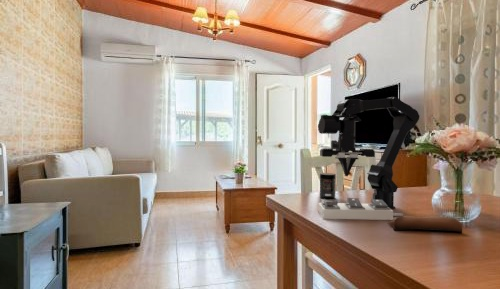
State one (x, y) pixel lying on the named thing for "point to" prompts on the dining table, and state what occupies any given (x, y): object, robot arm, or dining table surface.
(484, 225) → the dining table surface
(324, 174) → the supplement container
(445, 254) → the dining table surface
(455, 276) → the dining table surface
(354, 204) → the rocker middle
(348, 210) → the power strip
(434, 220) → the sunglasses case
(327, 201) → the rocker
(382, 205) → the rocker
